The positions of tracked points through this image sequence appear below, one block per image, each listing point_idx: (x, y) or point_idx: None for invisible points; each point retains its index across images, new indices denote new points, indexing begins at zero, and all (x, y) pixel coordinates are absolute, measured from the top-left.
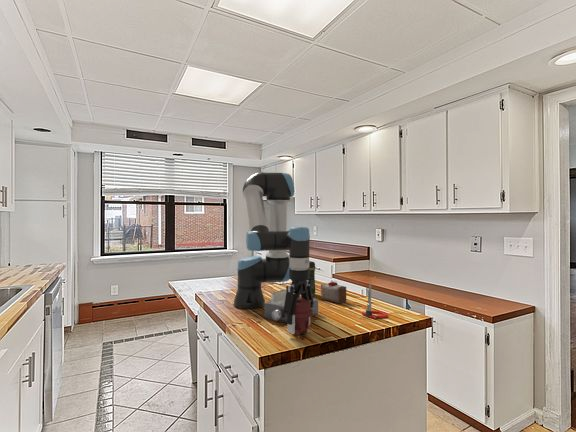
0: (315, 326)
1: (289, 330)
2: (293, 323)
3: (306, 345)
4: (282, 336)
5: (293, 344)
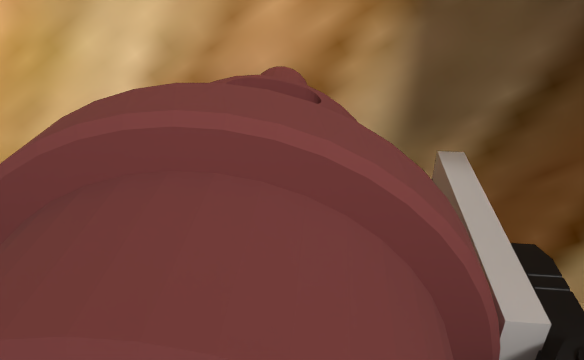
0: (553, 212)
1: None
2: None
3: None
4: (59, 65)
5: None
